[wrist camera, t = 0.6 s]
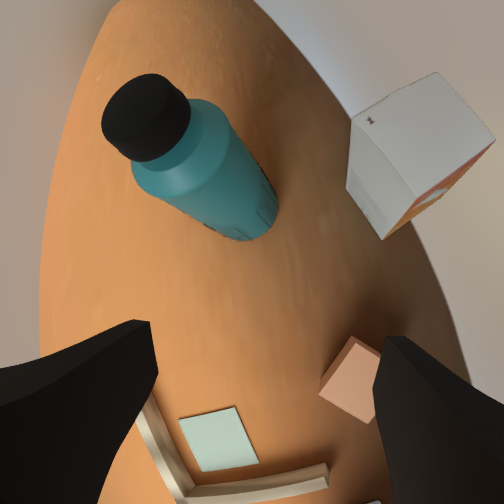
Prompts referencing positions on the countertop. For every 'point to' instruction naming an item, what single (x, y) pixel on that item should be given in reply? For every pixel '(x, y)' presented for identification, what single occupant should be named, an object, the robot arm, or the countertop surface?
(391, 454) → the robot arm
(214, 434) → the pad
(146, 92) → the beverage bottle
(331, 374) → the cube
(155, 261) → the countertop surface
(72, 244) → the countertop surface
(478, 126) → the small box
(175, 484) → the l-shaped wall
